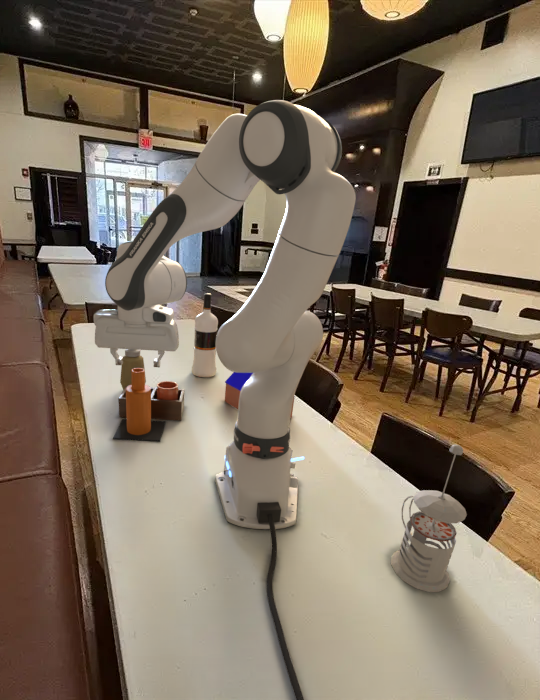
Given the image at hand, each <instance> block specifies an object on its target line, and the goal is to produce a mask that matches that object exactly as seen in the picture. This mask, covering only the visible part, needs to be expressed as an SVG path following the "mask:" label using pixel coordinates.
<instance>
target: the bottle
mask: <svg viewBox="0 0 540 700" xmlns="http://www.w3.org/2000/svg"><path fill="white" fill-rule="evenodd" d="M131 374H132V385H129V386H127V387H126V417H127V418H126V419H127V431H128V432H129V433H130V434H133V435H143V434H146V433H148V432H150V430H151V420H152V419H151V388H150V387H151V386H149V385H148V384H146V383H145V377H146V369H145V370H144V369H142V368H134V369H132V370H131Z"/></svg>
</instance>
